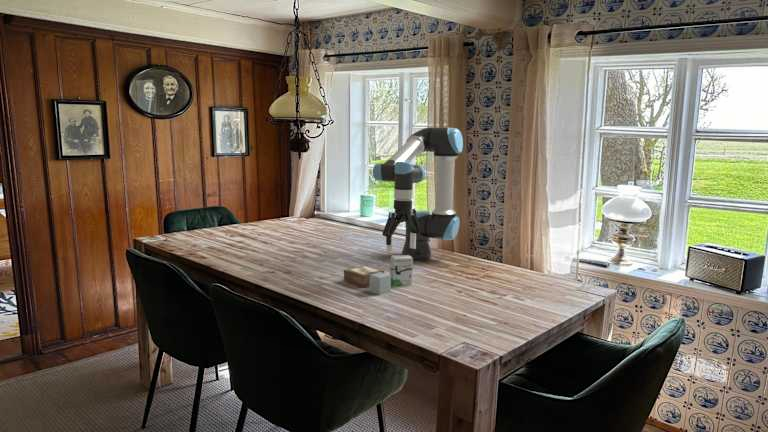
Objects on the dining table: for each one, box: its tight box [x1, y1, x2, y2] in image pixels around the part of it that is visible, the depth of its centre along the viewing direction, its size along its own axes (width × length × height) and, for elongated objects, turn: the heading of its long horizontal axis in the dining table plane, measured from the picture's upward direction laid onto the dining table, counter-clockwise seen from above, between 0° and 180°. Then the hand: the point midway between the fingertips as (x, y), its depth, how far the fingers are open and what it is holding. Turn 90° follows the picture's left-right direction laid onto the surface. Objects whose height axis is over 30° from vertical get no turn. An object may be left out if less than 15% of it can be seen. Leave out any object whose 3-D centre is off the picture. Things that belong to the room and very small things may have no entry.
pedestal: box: [343, 265, 385, 289], centre depth 224 cm, size 12×12×5 cm
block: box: [368, 272, 392, 296], centre depth 212 cm, size 6×6×7 cm
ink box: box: [389, 254, 414, 287], centre depth 222 cm, size 9×5×12 cm, turn 105°
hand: (401, 250), depth 221 cm, fingers open, 13 cm apart
